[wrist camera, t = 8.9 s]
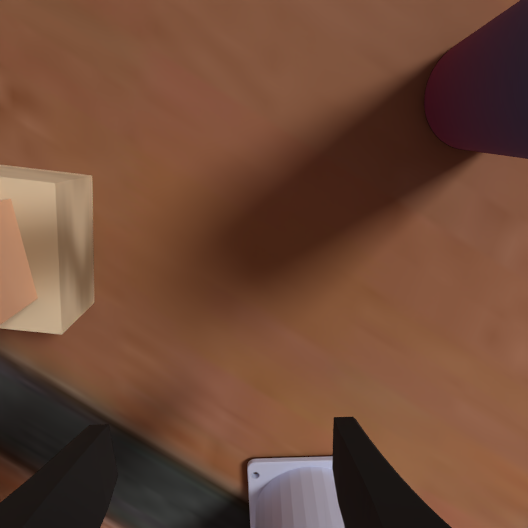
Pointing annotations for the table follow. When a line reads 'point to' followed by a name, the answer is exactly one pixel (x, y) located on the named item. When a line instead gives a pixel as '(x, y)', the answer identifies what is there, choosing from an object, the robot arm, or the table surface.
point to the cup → (484, 88)
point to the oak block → (53, 244)
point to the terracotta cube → (13, 266)
